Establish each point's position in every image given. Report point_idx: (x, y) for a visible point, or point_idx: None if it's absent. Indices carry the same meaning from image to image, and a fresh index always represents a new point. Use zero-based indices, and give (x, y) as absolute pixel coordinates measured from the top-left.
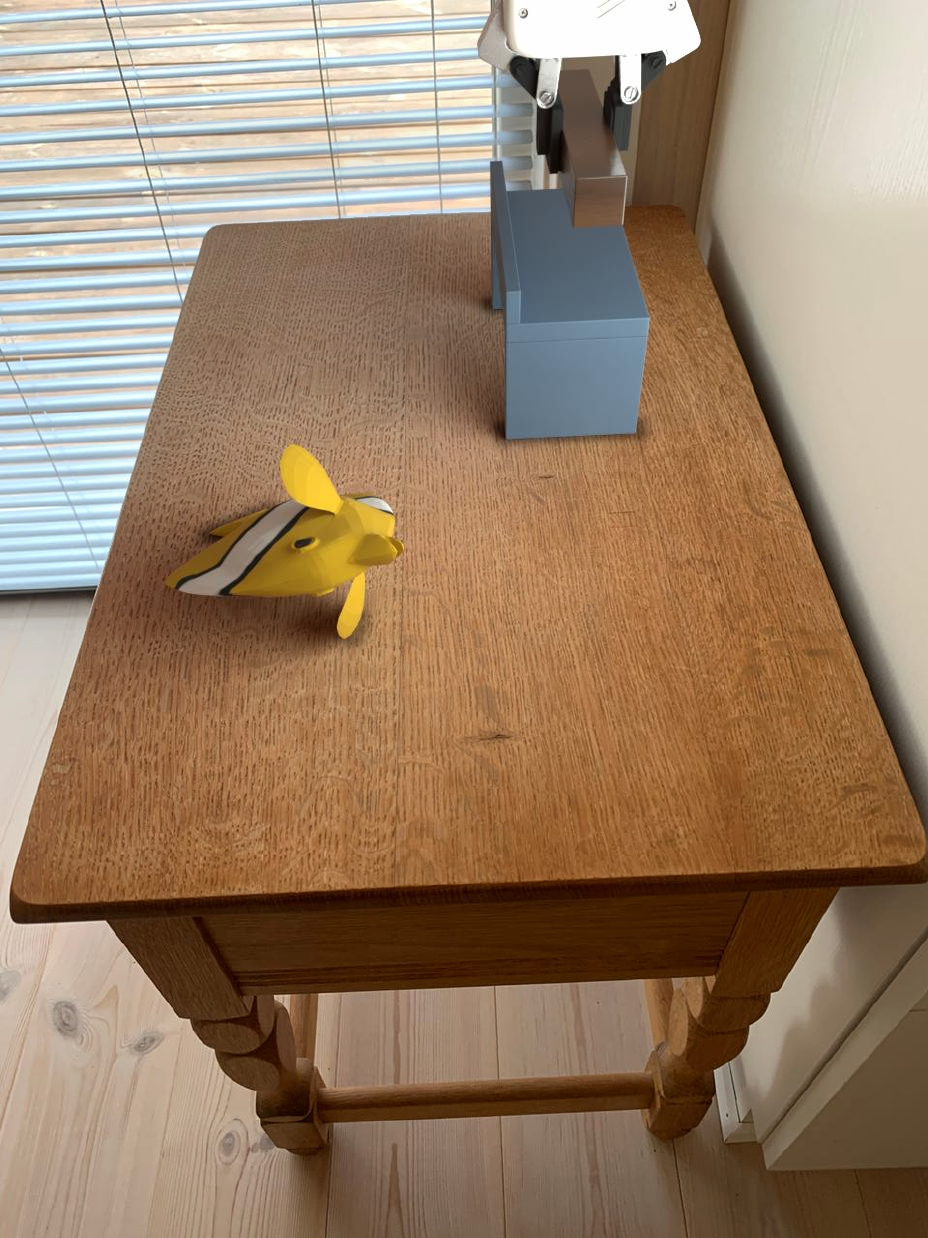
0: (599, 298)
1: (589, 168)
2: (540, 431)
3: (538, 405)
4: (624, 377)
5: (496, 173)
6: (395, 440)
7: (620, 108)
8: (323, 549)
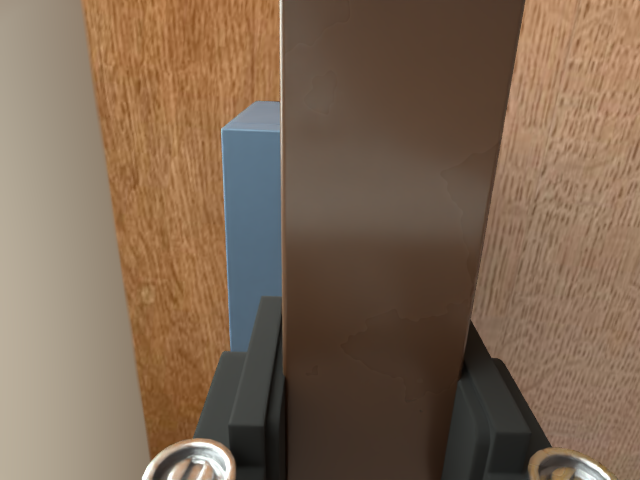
0: None
1: (446, 22)
2: None
3: None
4: (268, 113)
5: None
6: (563, 124)
7: (242, 420)
8: None
